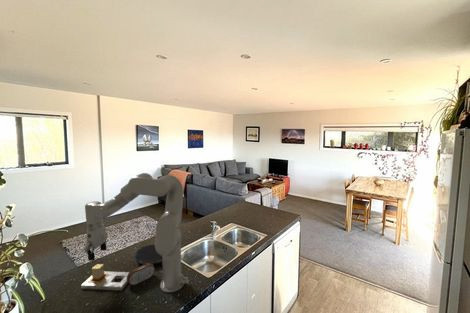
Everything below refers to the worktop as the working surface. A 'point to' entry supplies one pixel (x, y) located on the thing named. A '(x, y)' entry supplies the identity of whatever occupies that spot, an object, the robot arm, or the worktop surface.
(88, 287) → the rail plate
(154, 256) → the bowl
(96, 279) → the brass peg
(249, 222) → the worktop surface
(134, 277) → the tin
